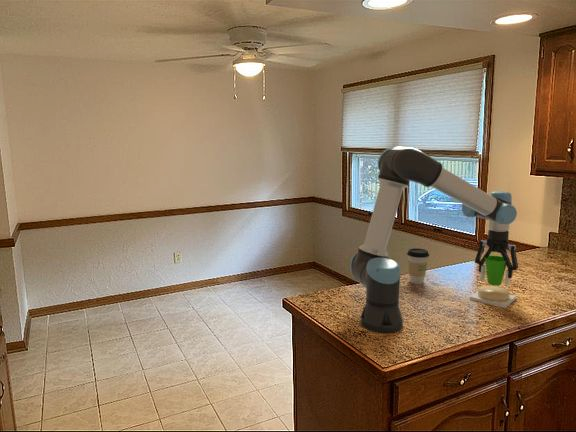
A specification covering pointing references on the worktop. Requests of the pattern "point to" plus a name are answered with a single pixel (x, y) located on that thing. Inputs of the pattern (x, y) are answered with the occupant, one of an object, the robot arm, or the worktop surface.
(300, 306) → the worktop surface
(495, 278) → the cup
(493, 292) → the domed square tile
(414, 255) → the coffee cup
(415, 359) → the worktop surface
